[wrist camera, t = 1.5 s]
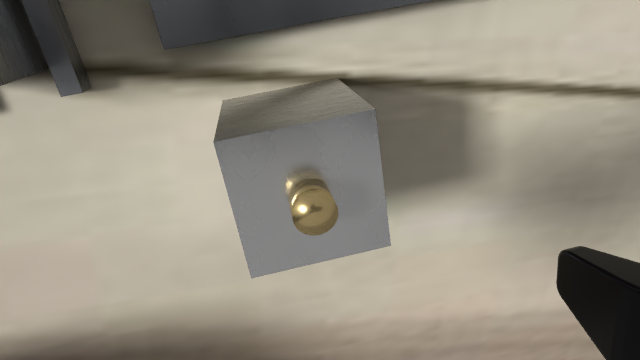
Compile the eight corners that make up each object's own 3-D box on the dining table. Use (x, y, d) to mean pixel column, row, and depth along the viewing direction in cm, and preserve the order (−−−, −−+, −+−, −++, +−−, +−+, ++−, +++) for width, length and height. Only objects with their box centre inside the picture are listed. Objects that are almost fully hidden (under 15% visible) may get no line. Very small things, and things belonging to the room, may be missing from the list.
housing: (351, 181, 21) (402, 264, 14) (249, 203, 20) (251, 300, 14) (336, 78, 19) (387, 118, 12) (222, 100, 18) (210, 155, 12)
